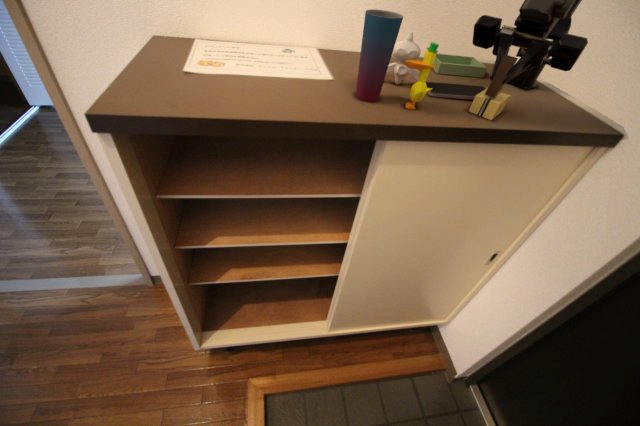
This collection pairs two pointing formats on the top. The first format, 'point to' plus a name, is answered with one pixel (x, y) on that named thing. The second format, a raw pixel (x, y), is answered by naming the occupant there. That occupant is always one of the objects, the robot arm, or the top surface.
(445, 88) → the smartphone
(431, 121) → the top surface
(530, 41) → the robot arm
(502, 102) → the butter
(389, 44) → the cup
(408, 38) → the figurine
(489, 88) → the knife
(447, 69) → the tray
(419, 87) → the toy figure
